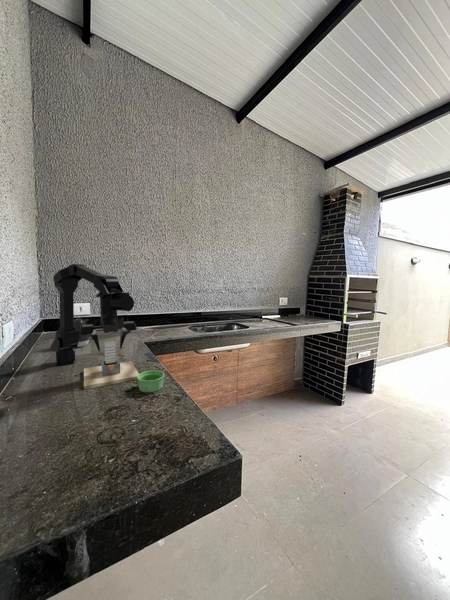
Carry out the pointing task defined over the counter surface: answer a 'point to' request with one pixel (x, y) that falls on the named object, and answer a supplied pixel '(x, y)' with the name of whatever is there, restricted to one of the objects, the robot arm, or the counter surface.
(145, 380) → the ramekin
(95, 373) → the base
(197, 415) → the counter surface
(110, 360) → the steel post
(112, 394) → the counter surface
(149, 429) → the counter surface
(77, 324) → the pump dispenser
